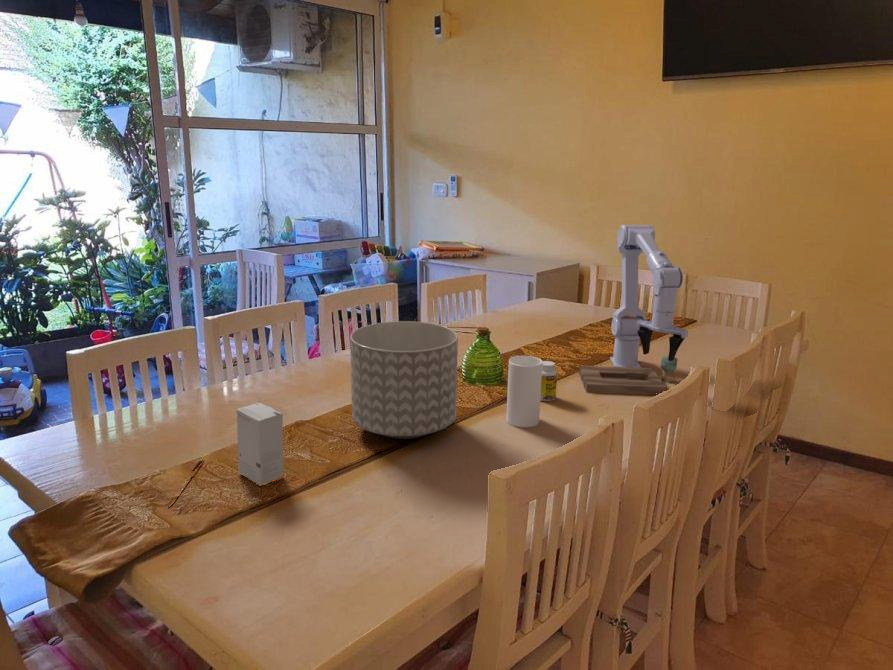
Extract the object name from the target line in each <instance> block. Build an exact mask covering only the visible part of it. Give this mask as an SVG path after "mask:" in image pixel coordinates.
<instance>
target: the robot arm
mask: <svg viewBox="0 0 893 670" xmlns="http://www.w3.org/2000/svg"><path fill="white" fill-rule="evenodd" d="M655 239H656V230H655V227H654V226H653V225H652V224H622V225H620V227H619V228H618V231H617V233H616V243H617V244H616V245H617V246H616V247H617V252H618V253H620V254H621V306H620V307H619V308H618V309H616V310H615V311H614V312H613V313H612V320H611V323H610V324H611V326H610V329H611V333H612V335H613V336H614V337H615V339H614V344H613V345H614V346H613V356H610V357H609V359H610V361H611V363H612V365H613V367H631V368H642V367H641V365H640V363H639V362H638V361H639V360H638V359H639V352H640V351H639V350H640V343H641V347H642V355H648V354H649V353H650V350H651V341H652V336H653V332H658V333H663V334H667V335H672V336H670V337H668V341H669V342H668V344H669V349H668V350H669V351H668V356H669V357H668V360H669V361H672V360H674V358H676V355H677V352H678V350H679V348H680V346H681V345H682V343H683V342H684V340H685V339H686V338H688V337H689V331H690V330H689V329H685V328H681V327H679V326H677V325H674V318H675V311H676V304H677V295H678V294H677V293H678V289H679V288H681V286H682V285H683V280H684V274H683V270H682V268H681V266H676V265H673V263H672V262H671V260H670V259H669V257H668V256H667V254H666V252H665V251H664V250H661V249H660V250H659V248H658V245H657V244H656V243H657V242H656V241H655ZM642 253H644V255H645V256H646V259H645V263H646V265H647V267H648V268H649V270H650V272H651V274H652V285H653V289H652V290H653V294H654V299H653V307H652V316H651V317H652V318H651V320H649V321H648V320H647V315H646V312H645V311H643V309H641V308H640V307H639V256H640V255H641V254H642Z"/></svg>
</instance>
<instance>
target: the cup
mask: <svg viewBox="0 0 893 670" xmlns="http://www.w3.org/2000/svg"><path fill="white" fill-rule="evenodd" d="M542 362H543V360H542V359H540V358H539V357H536V356H531V355H516V356H512V357H510V358H509V359H508V371H507V372H508V374H507V375H508V376H507V397H506V398H507V399H506V417H505V419H506V423H507V424H508V425H510V426H513V427H517V428H523V429H525V428H533V427H536V426H537V425H538V424H539V423H540V413H541V411H540V410H541V400H540V397H541V381H542V364H543V363H542Z"/></svg>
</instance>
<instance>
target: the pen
mask: <svg viewBox="0 0 893 670" xmlns="http://www.w3.org/2000/svg"><path fill="white" fill-rule="evenodd" d="M203 460H204V459H201V460H199V461H198V462H197V464H196V465H195V466H194V467H193V469H192V470H191V472H192V471H195V469H197V468H198V467H199V465H200V464H201V463H202V461H203ZM203 462H204V461H203ZM192 473H193V472H192Z"/></svg>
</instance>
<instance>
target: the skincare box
mask: <svg viewBox="0 0 893 670" xmlns="http://www.w3.org/2000/svg"><path fill="white" fill-rule="evenodd" d="M283 416H284V415H283V413H281V412H279V411H278V410H275V409H274V407H271V406H267V405H266V404H263V403H261V402H256V403H252V404H250V405H245V406H243V407H239V408H236V428H237V457H238V459H237V463H238V465H237V467H238V475H239V474H241V475H244V476H246V477H248V478H249V479H251V480H253V481H254V482H256V483H258V484H259V485H263V484H265V483H267V482H270V481H272V480H274V479H277V478H279V477H281V476H283V475H284V428H283V426H284V425H283V424H284V422H283V419H284V418H283ZM241 475H240V476H241ZM249 479H248V480H249ZM254 482H253V483H254Z"/></svg>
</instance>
